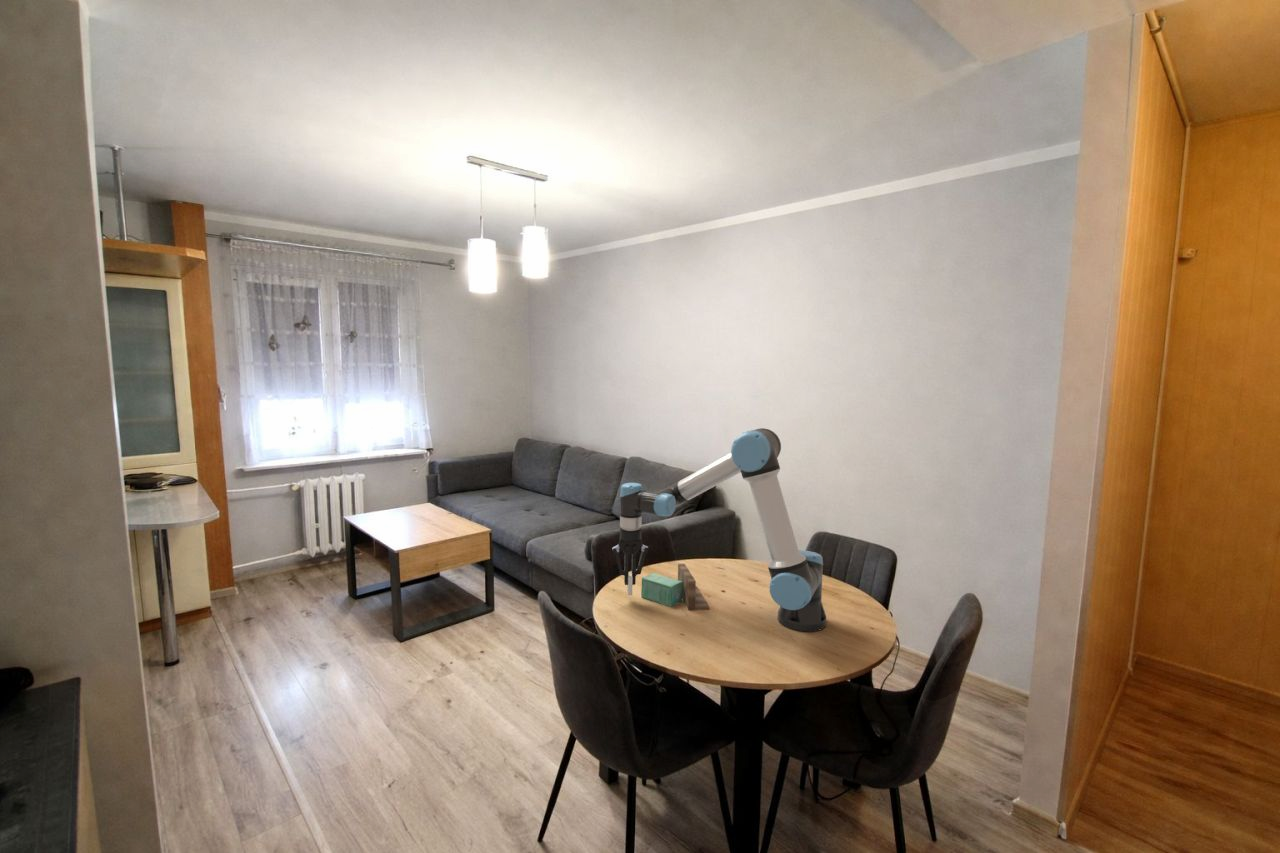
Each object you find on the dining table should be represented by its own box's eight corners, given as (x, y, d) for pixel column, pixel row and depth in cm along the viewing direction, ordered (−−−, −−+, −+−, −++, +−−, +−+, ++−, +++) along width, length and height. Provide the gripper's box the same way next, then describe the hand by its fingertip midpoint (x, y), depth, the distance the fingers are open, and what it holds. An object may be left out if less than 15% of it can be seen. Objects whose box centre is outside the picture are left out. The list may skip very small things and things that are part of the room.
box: (671, 607, 190) (672, 586, 189) (640, 597, 198) (641, 577, 197) (683, 601, 195) (683, 580, 195) (653, 592, 204) (653, 572, 203)
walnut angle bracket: (708, 609, 188) (709, 580, 188) (688, 610, 188) (688, 581, 187) (696, 589, 206) (697, 563, 205) (677, 590, 205) (678, 563, 204)
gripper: (647, 524, 196) (646, 588, 198) (611, 525, 195) (610, 590, 197) (650, 530, 189) (649, 597, 191) (612, 531, 187) (612, 598, 189)
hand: (629, 593), depth 194 cm, fingers closed
